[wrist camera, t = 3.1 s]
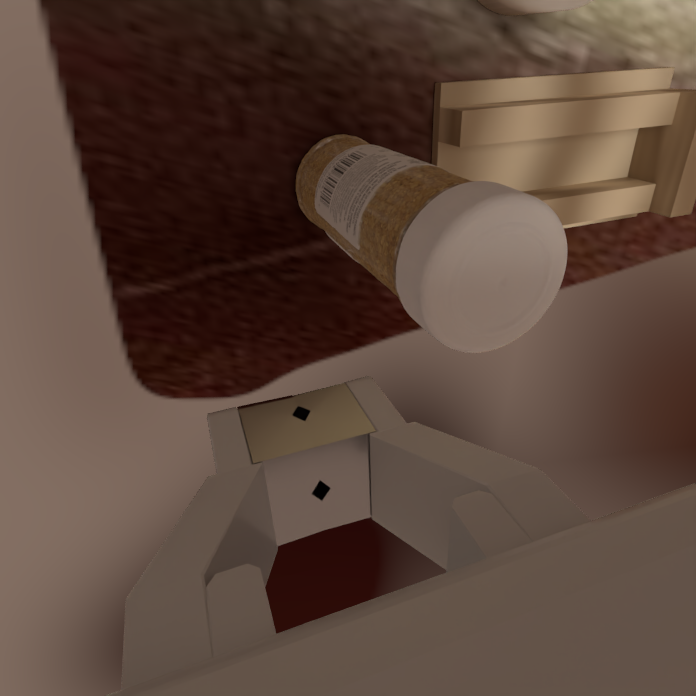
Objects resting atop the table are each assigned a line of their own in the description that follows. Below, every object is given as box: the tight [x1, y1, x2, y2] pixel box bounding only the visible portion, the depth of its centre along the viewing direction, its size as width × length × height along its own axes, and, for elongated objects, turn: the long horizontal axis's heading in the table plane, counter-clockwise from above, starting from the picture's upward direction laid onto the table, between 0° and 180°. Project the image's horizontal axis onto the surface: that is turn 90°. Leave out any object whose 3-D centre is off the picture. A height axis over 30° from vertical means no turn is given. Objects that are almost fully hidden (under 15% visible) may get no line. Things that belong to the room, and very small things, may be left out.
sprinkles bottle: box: [296, 134, 567, 353], centre depth 19 cm, size 5×5×14 cm
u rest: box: [432, 67, 696, 228], centre depth 26 cm, size 14×8×4 cm, turn 93°
